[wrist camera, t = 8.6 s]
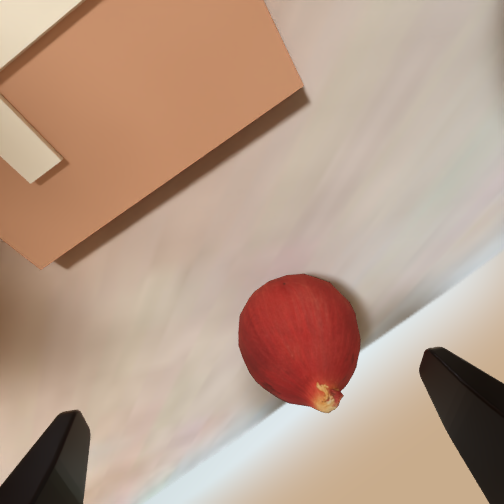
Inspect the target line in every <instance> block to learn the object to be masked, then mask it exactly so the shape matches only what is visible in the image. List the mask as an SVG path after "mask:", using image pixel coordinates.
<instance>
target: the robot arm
mask: <svg viewBox="0 0 504 504" xmlns="http://www.w3.org/2000/svg"><path fill="white" fill-rule="evenodd" d="M419 372H420V377H421V379H422V381H423V383H424V385H425V387H426V389H427V391H428V394H429V396H430V398H431V400H432V402H433V404H434V406H435V408H436V410H437V412H438V414H439V417H440V419H441V421H442V423H443V425H444V427H445V429H446V431H447V433H448V434H449V436H450V438H451V440H452V441H453V443H454V445H455V446H456V448H457V450H458V451H459V453H460V455H461V456H462V458H463V460H464V461H465V463H466V465H467V467H468V468H469V470H470V471H471V473H472V475H473V477H474V478H475V480H476V482H477V483H478V485H479V487H480V488H481V490H482V492H483V493H484V495H485V497H486V498H487V500H488V502H489V503H490V504H504V384H503V383H502V382H500V381H498V380H497V379H495V378H493V377H492V376H490V375H488V374H487V373H485V372H483V371H482V370H480V369H478V368H477V367H475V366H473V365H472V364H470V363H468V362H467V361H465V360H463V359H462V358H460V357H458V356H457V355H455V354H453V353H452V352H450V351H448V350H447V349H445V348H443V347H434V348H428V349H426V350H425V352H424V355H423V358H422V361H421V364H420V368H419ZM89 446H90V429H89V427H88V425H87V423H86V421H85V419H84V417H83V415H82V413H81V412H80V411H79V410H71V411H66V412H62V413H60V414H59V415H58V416H57V417H56V418H55V419H54V421H53V422H52V423H51V424H50V426H49V427H48V428H47V429H46V430H45V432H44V433H43V434H42V435H41V437H40V438H39V439H38V440H37V442H36V443H35V444H34V445H33V447H32V448H31V449H30V450H29V452H28V453H27V454H26V455H25V457H24V458H23V459H22V460H21V462H20V463H19V464H18V465H17V466H16V468H15V469H14V470H13V471H12V473H11V474H10V475H9V476H8V478H7V479H6V480H5V481H4V483H3V484H2V485H1V486H0V504H83V499H84V491H85V482H86V473H87V464H88V455H89Z"/></svg>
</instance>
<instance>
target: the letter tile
mask: <svg viewBox="0 0 504 504" xmlns="http://www.w3.org/2000/svg"><path fill="white" fill-rule="evenodd" d="M303 86H304V85H303V83H302V81H301V79H300V77H299V74H298V72H297V70H296V68H295V66H294V64H293V62H292V60H291V58H290V56H289V53H288V51H287V49H286V47H285V45H284V43H283V41H282V39H281V37H280V34H279V32H278V30H277V28H276V26H275V24H274V22H273V20H272V18H271V15H270V13H269V11H268V9H267V7H266V5H265V3H264V1H263V0H0V239H2V240H3V241H4V242H6V243H7V244H8V245H9V246H11V247H12V248H13V249H15V250H16V251H17V252H18V253H20V254H21V255H22V256H24V257H25V258H26V259H27V260H29V261H30V262H31V263H33V264H34V265H35V266H36V267H38V268H39V269H40V270H42V269H43V268H44V267H46V266H47V265H49V264H50V263H52V262H53V261H54V260H56V259H57V258H59V257H60V256H62V255H63V254H64V253H66V252H67V251H69V250H70V249H72V248H73V247H74V246H76V245H77V244H79V243H80V242H81V241H83V240H84V239H86V238H87V237H89V236H90V235H91V234H93V233H94V232H96V231H97V230H99V229H100V228H101V227H103V226H104V225H106V224H107V223H109V222H110V221H111V220H113V219H114V218H116V217H117V216H119V215H120V214H121V213H123V212H124V211H126V210H127V209H129V208H130V207H131V206H133V205H134V204H136V203H137V202H139V201H140V200H141V199H143V198H144V197H146V196H147V195H149V194H150V193H151V192H153V191H154V190H156V189H157V188H159V187H160V186H161V185H163V184H164V183H166V182H167V181H169V180H170V179H171V178H173V177H174V176H176V175H177V174H179V173H180V172H181V171H183V170H184V169H186V168H187V167H189V166H190V165H191V164H193V163H194V162H196V161H197V160H199V159H200V158H201V157H203V156H204V155H206V154H207V153H209V152H210V151H211V150H213V149H214V148H216V147H217V146H219V145H220V144H221V143H223V142H224V141H226V140H227V139H229V138H230V137H231V136H233V135H234V134H236V133H237V132H239V131H240V130H241V129H243V128H244V127H246V126H247V125H249V124H250V123H251V122H253V121H254V120H256V119H257V118H259V117H260V116H261V115H263V114H264V113H266V112H267V111H269V110H270V109H271V108H273V107H274V106H276V105H277V104H279V103H280V102H281V101H283V100H284V99H286V98H287V97H289V96H290V95H291V94H293V93H294V92H296V91H297V90H299V89H300V88H301V87H303Z"/></svg>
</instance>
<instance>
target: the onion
mask: <svg viewBox="0 0 504 504" xmlns="http://www.w3.org/2000/svg"><path fill="white" fill-rule="evenodd" d="M238 334H239V348H240V351H241V354H242V357H243V360H244V362H245V364H246V366H247V368H248V370H249V373H250V374H251V375H252V377H253V378H254V379H255V381H256V382H257V383H258V384H260V385H261V386H262V387H263V388H264V389H266V390H267V391H268V392H270V393H271V394H273V395H274V396H276V397H277V398H279V399H281V400H283V401H285V402H287V403H290V404H297V405H304V406H310V407H312V408H314V409H316V410H318V411H321V412H324V413H330V412H331V411H332V410H335V409H336V408H337V407H338V405H339V402H340V400H341V398H342V397H343V394H342V393H341V392H340V391H341V390H342V389H344V387H345V386H346V385H347V384H348V382H349V380H350V378H351V377H352V375H353V373H354V371H355V368H356V366H357V360H358V356H359V351H360V334H359V329H358V325H357V320H356V315H355V312H354V310H353V308H352V306H351V304H350V302H349V301H348V300H347V299H346V298H345V297H344V296H343V295H342V294H341V293H340V292H339V291H338V290H337V289H336V288H335V287H334V286H333V285H332V284H331V283H330V282H327V281H324V280H321V279H318V278H315V277H312V276H309V275H306V274H297V275H286V276H283V277H280V278H277V279H274V280H271V281H269V282H267V283H266V284H264V285H263V286H262V287H260V288H259V289H257V290H256V291H255V292H254V293H253V294H252V295H251V297H250V298H249V300H248V302H247V303H246V305H245V307H244V309H243V311H242V312H241V314H240V319H239V332H238Z"/></svg>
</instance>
